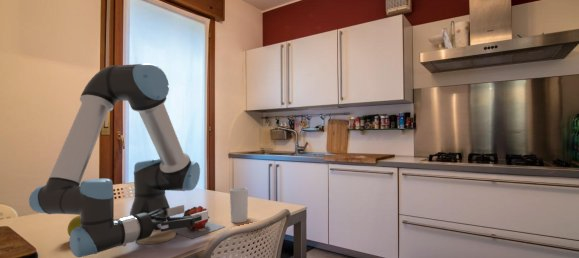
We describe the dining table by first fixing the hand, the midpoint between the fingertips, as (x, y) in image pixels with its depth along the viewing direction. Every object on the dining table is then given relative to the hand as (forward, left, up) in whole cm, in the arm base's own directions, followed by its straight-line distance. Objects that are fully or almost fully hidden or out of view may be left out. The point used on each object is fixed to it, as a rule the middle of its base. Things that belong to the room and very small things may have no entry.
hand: (195, 211), depth 106 cm
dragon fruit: (0, +1, -6) cm, 6 cm away
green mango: (-22, -26, -7) cm, 35 cm away
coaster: (-4, -12, -6) cm, 14 cm away
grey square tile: (0, +1, -6) cm, 6 cm away
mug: (+5, +18, -7) cm, 20 cm away
